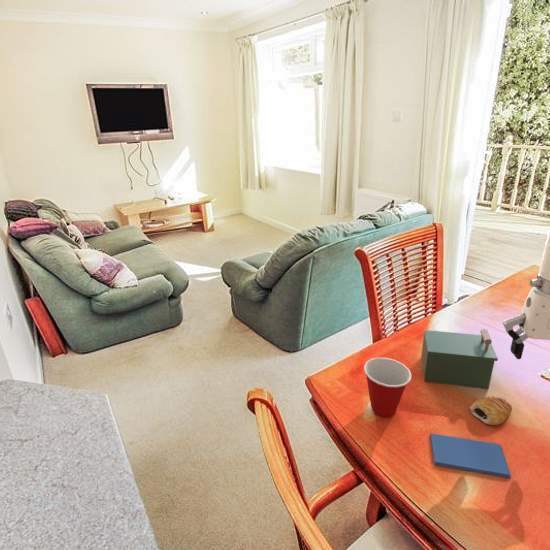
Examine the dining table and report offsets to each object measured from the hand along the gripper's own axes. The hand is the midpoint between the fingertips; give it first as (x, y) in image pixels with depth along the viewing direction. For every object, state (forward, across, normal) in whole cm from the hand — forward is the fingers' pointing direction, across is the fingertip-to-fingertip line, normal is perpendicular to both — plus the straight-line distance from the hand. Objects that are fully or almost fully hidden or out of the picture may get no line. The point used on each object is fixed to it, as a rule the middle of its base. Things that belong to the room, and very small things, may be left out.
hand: (540, 356), depth 81 cm
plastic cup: (+17, -32, -1) cm, 36 cm away
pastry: (+17, -8, -1) cm, 18 cm away
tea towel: (+16, -16, -13) cm, 27 cm away
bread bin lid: (+8, -12, +15) cm, 20 cm away
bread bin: (+16, -12, +15) cm, 25 cm away
